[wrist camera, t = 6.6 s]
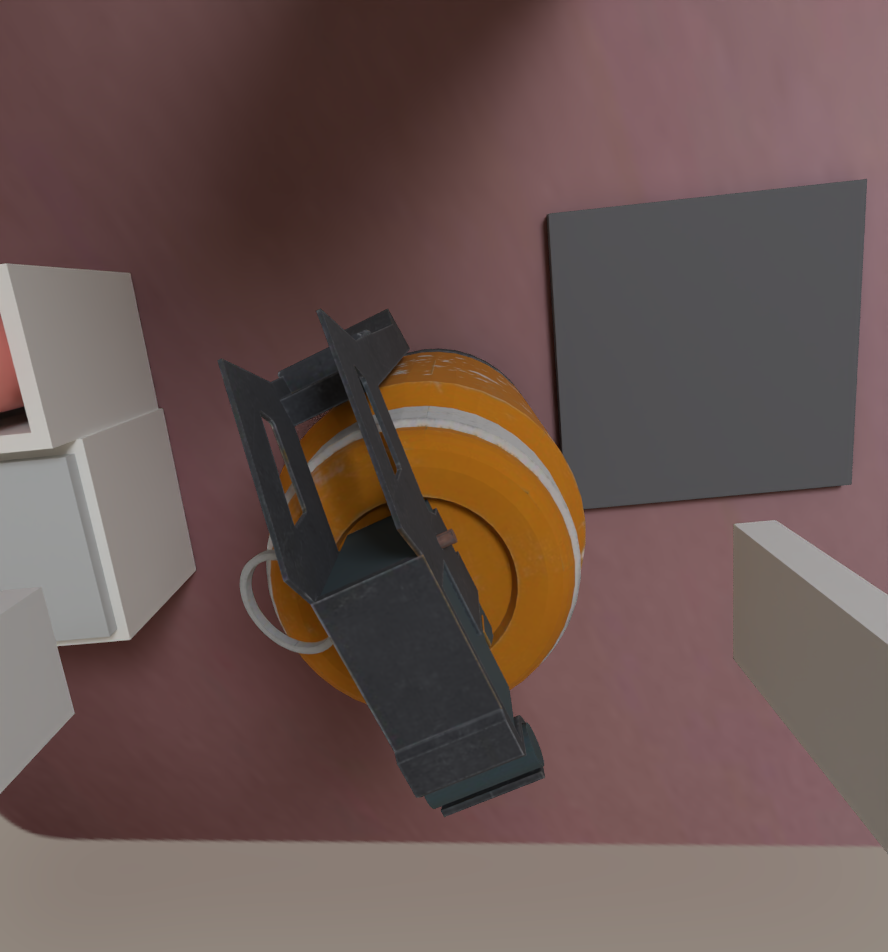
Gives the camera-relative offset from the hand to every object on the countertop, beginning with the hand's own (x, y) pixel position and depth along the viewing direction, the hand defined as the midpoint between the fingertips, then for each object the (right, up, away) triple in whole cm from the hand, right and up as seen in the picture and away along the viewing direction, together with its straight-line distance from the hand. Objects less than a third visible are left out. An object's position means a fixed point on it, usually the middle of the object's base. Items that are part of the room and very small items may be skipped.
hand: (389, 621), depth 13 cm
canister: (0, +5, +19) cm, 19 cm away
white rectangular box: (-15, +5, +19) cm, 24 cm away
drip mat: (+12, +8, +17) cm, 23 cm away
